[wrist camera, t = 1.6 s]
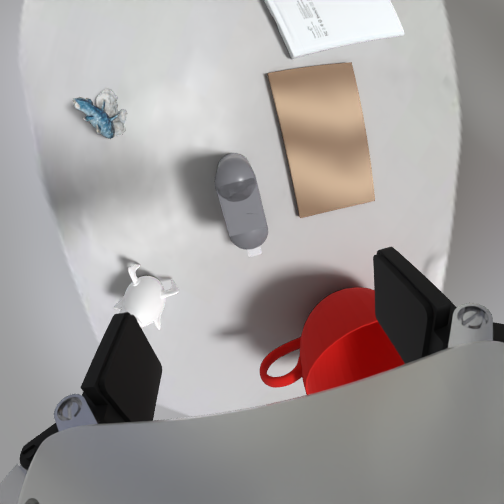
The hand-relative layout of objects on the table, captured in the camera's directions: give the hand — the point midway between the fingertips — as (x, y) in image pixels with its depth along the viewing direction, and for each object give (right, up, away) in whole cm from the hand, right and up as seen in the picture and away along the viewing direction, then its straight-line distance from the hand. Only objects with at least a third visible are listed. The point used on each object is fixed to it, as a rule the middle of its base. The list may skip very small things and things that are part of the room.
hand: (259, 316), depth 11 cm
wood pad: (+7, +13, +16) cm, 21 cm away
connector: (-1, +8, +17) cm, 19 cm away
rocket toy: (-11, -1, +21) cm, 24 cm away
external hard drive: (+7, +26, +11) cm, 29 cm away
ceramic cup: (+8, -5, +24) cm, 26 cm away
